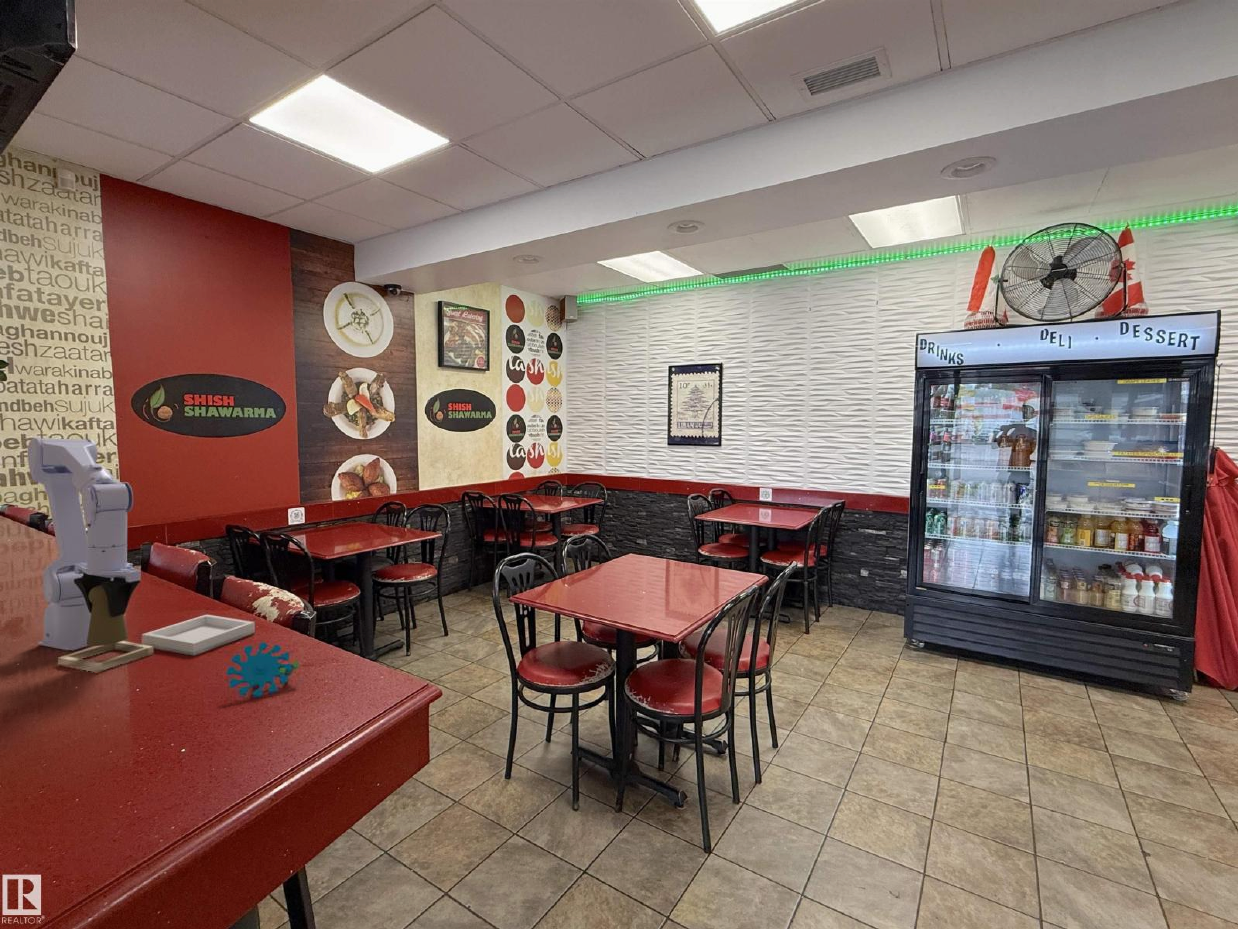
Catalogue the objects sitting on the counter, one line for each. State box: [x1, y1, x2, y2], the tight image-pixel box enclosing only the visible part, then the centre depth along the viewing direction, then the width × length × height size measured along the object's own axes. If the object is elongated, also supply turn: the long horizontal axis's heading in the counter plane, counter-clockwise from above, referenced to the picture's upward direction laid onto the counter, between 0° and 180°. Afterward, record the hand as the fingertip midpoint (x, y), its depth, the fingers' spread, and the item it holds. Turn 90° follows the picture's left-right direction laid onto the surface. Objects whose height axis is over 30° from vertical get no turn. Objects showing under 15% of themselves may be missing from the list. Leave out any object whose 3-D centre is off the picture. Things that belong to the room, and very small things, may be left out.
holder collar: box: [57, 640, 155, 674], centre depth 109 cm, size 10×10×2 cm
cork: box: [87, 585, 129, 647], centre depth 109 cm, size 6×6×11 cm
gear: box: [225, 641, 300, 698], centre depth 101 cm, size 11×6×10 cm
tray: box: [141, 614, 256, 657], centre depth 121 cm, size 14×14×2 cm
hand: (107, 613), depth 109 cm, fingers closed on cork, 5 cm apart
